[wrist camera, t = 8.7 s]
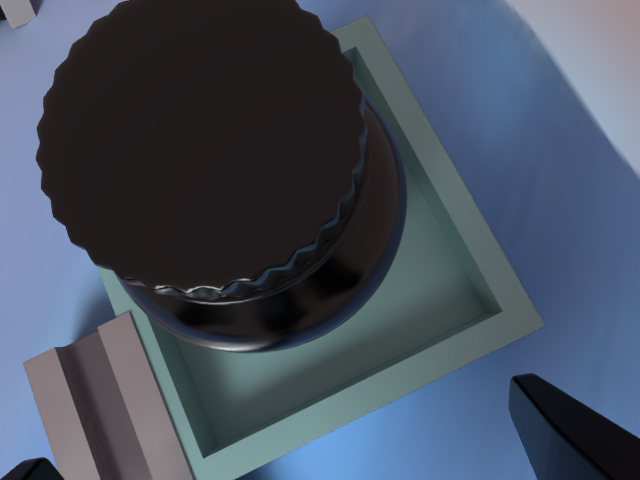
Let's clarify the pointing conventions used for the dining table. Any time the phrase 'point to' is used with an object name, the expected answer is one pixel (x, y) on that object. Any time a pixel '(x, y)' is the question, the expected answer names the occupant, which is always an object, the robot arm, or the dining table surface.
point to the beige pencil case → (16, 12)
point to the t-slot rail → (106, 408)
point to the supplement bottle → (224, 169)
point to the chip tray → (362, 328)
